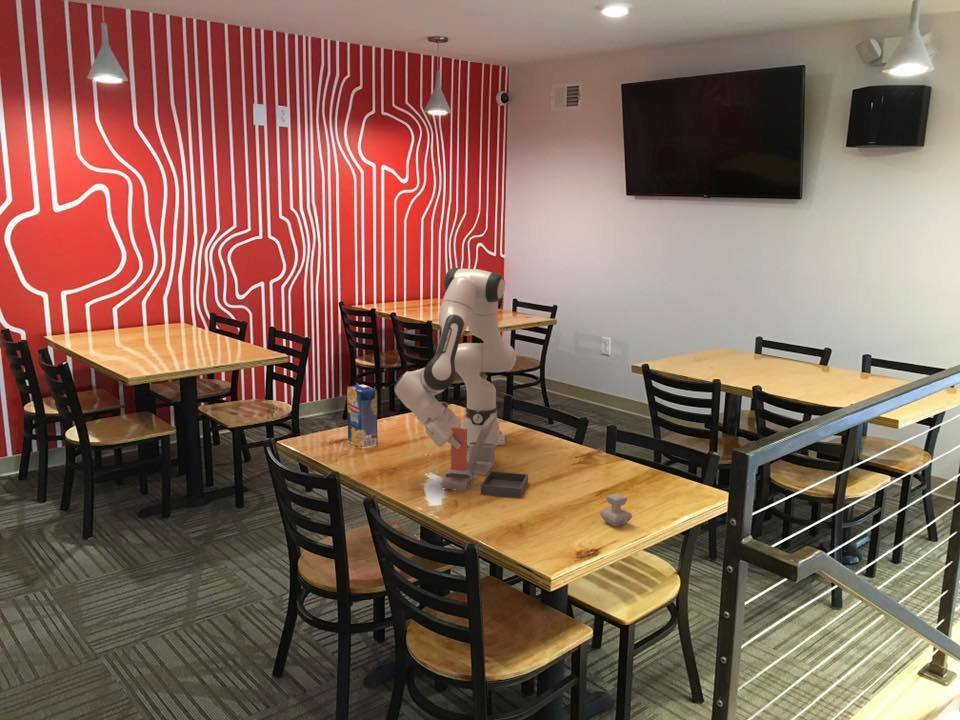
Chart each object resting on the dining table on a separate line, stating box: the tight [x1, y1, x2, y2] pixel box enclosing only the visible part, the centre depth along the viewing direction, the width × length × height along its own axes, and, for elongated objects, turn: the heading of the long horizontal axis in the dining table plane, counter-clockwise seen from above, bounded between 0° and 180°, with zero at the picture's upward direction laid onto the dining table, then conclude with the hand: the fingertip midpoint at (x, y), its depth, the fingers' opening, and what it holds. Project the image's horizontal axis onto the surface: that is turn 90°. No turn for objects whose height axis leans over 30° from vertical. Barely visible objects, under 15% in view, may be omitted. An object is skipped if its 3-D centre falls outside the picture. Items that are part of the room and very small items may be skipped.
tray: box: [480, 470, 529, 499], centre depth 251 cm, size 14×13×3 cm
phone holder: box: [467, 413, 498, 476], centre depth 271 cm, size 17×10×18 cm, turn 166°
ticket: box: [450, 427, 468, 471], centre depth 253 cm, size 1×5×14 cm, turn 77°
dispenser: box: [441, 469, 476, 492], centre depth 255 cm, size 12×8×4 cm, turn 167°
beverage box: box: [346, 383, 378, 448], centre depth 293 cm, size 7×11×22 cm, turn 36°
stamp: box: [599, 493, 633, 527], centre depth 224 cm, size 9×7×8 cm
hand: (460, 445), depth 253 cm, fingers closed on ticket, 1 cm apart
